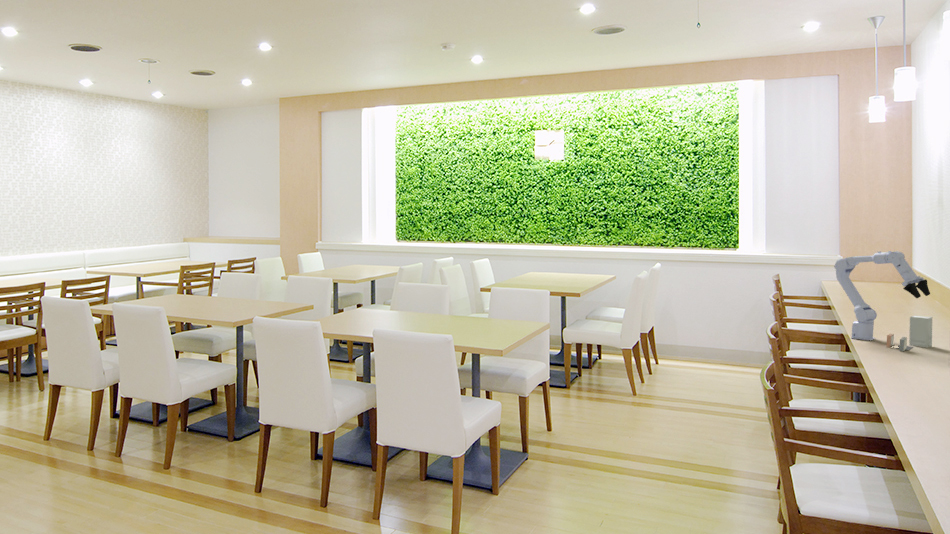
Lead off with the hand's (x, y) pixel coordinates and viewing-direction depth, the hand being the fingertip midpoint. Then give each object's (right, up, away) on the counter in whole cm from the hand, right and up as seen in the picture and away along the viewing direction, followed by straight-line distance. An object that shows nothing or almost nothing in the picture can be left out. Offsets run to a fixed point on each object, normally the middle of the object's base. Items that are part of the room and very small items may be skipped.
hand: (923, 296), depth 325 cm
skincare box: (+3, -25, +7) cm, 26 cm away
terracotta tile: (-13, -25, +6) cm, 29 cm away
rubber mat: (-9, -26, +3) cm, 27 cm away
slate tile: (-13, -26, -4) cm, 29 cm away
